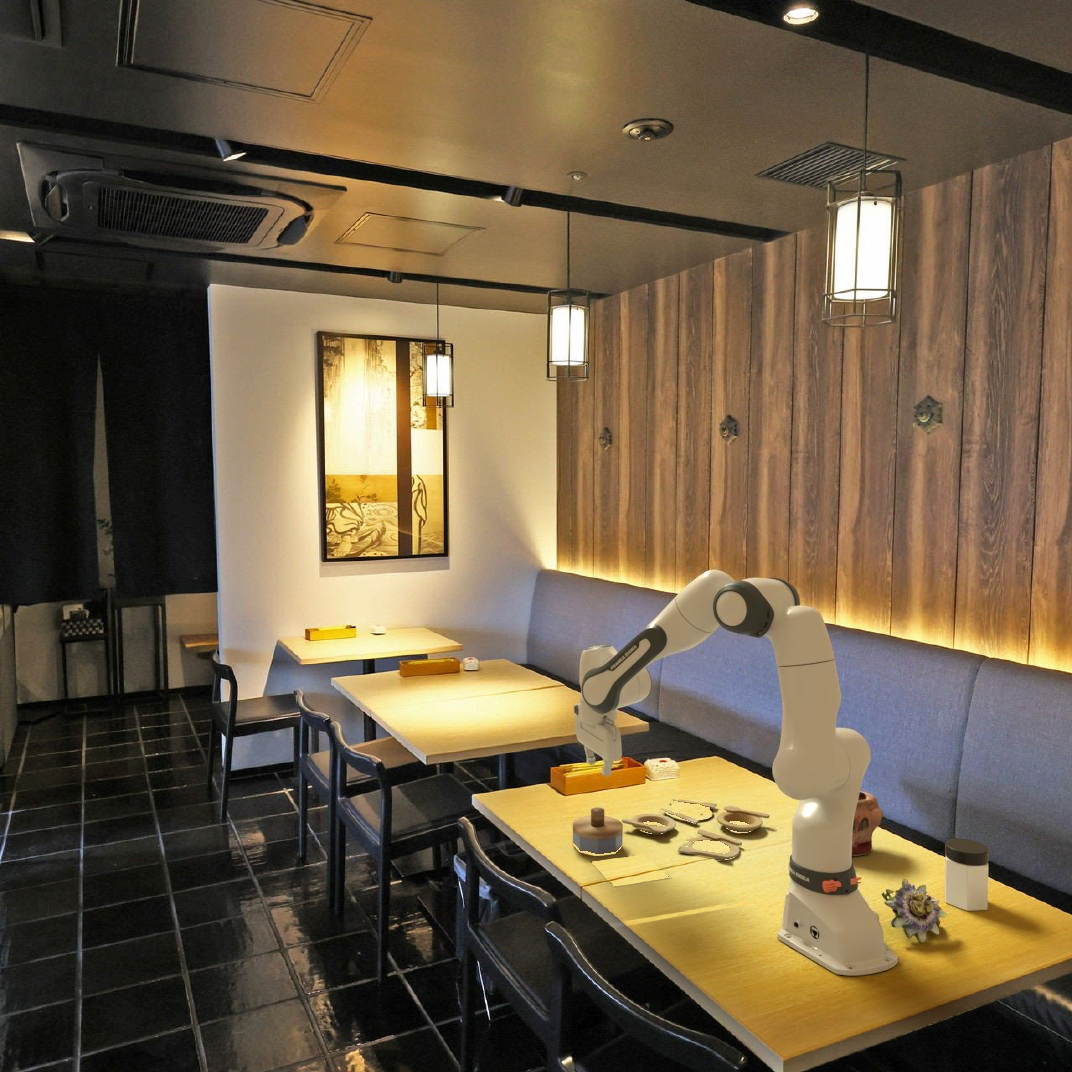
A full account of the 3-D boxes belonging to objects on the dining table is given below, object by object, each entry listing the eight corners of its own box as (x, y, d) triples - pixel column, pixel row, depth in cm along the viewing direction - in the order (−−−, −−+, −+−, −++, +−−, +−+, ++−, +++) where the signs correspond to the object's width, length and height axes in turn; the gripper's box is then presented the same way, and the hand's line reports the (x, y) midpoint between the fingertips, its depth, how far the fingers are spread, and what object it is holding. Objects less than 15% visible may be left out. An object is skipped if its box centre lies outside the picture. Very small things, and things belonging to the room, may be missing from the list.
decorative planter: (825, 866, 196) (826, 807, 195) (792, 846, 207) (793, 790, 207) (895, 855, 203) (896, 797, 202) (859, 835, 214) (860, 781, 214)
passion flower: (920, 968, 163) (898, 929, 159) (881, 931, 173) (860, 893, 169) (964, 931, 165) (944, 891, 161) (923, 897, 175) (903, 858, 171)
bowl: (628, 855, 202) (628, 835, 202) (584, 862, 198) (584, 841, 198) (609, 838, 212) (609, 818, 212) (568, 844, 209) (568, 823, 208)
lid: (631, 835, 201) (631, 815, 201) (584, 842, 197) (584, 821, 197) (610, 817, 213) (610, 798, 212) (565, 823, 209) (565, 804, 208)
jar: (973, 892, 183) (975, 837, 183) (997, 910, 175) (999, 852, 175) (934, 894, 183) (935, 838, 182) (956, 912, 174) (958, 854, 174)
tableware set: (722, 871, 195) (722, 853, 194) (612, 840, 212) (612, 824, 212) (779, 824, 222) (779, 809, 222) (678, 801, 240) (679, 786, 240)
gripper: (628, 721, 195) (628, 781, 195) (594, 702, 214) (594, 756, 215) (603, 723, 193) (603, 784, 193) (570, 704, 212) (571, 759, 213)
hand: (598, 769), depth 204 cm, fingers open, 8 cm apart
